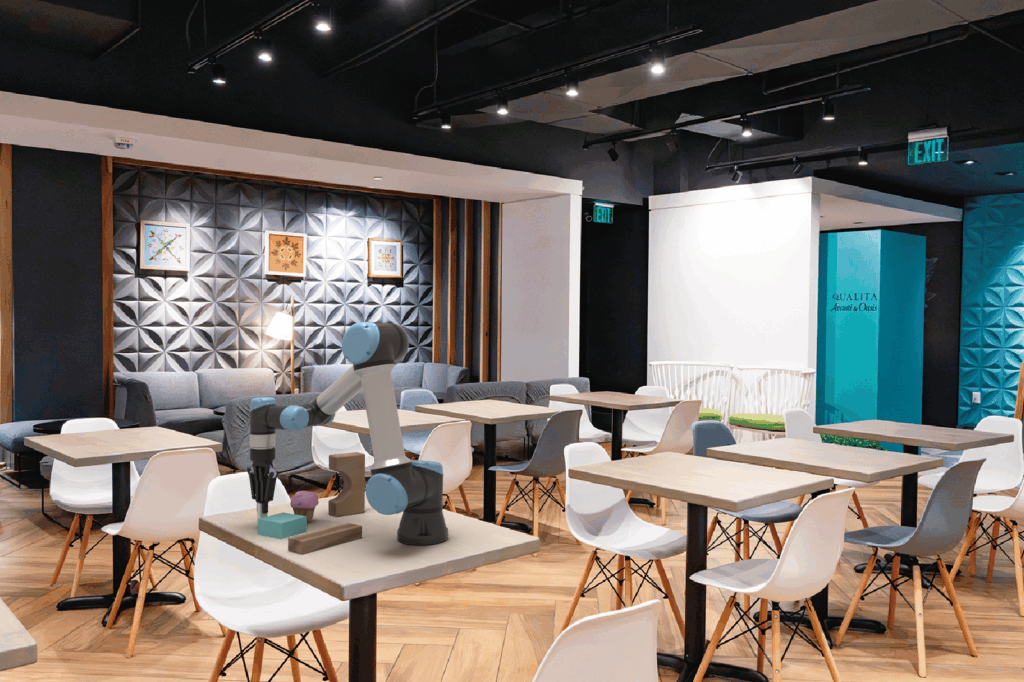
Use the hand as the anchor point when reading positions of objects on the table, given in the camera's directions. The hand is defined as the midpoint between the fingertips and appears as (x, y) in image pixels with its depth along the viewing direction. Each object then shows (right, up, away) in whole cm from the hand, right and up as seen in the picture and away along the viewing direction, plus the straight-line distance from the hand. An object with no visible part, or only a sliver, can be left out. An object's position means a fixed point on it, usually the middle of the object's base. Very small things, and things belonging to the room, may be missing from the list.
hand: (262, 523), depth 235 cm
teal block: (+8, -2, -6) cm, 10 cm away
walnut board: (+24, -2, -18) cm, 30 cm away
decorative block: (+22, -2, +20) cm, 30 cm away
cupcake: (+11, -2, +8) cm, 14 cm away
